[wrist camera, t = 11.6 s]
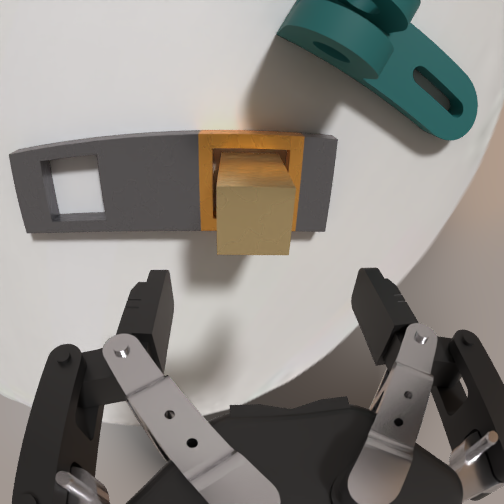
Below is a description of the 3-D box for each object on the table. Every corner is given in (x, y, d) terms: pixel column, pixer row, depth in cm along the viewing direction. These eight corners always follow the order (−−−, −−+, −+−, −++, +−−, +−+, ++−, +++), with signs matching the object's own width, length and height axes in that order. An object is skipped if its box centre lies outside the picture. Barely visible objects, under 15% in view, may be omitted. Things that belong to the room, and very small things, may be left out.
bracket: (275, 34, 20) (294, 17, 13) (315, -28, 17) (347, -62, 10) (442, 147, 25) (495, 177, 18) (472, 94, 22) (529, 110, 15)
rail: (18, 149, 22) (8, 154, 21) (331, 135, 24) (337, 139, 23) (34, 225, 26) (26, 233, 25) (320, 223, 28) (325, 231, 27)
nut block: (221, 151, 24) (216, 186, 18) (278, 153, 25) (296, 188, 18) (221, 203, 27) (217, 254, 20) (274, 204, 27) (288, 255, 20)
